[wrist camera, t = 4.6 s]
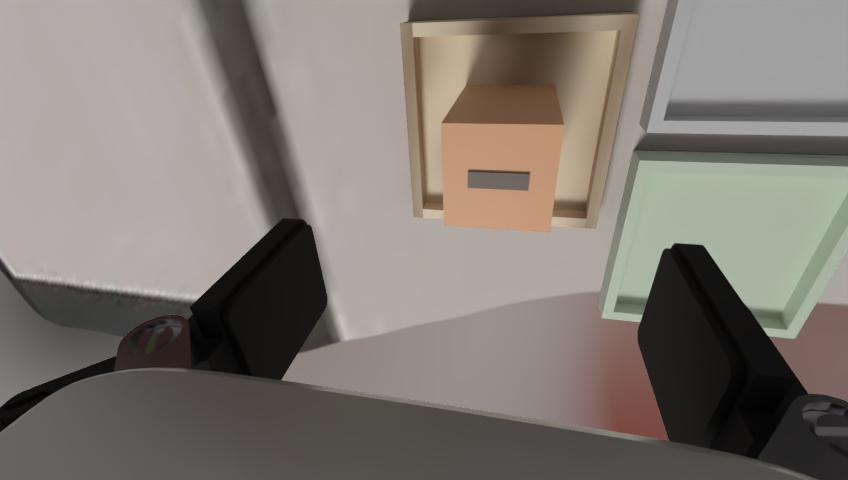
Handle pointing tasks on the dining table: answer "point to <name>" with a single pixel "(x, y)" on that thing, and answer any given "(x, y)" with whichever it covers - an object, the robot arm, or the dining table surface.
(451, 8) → the dining table surface
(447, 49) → the tray birch
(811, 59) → the tray grey
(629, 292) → the tray green
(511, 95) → the letter block
